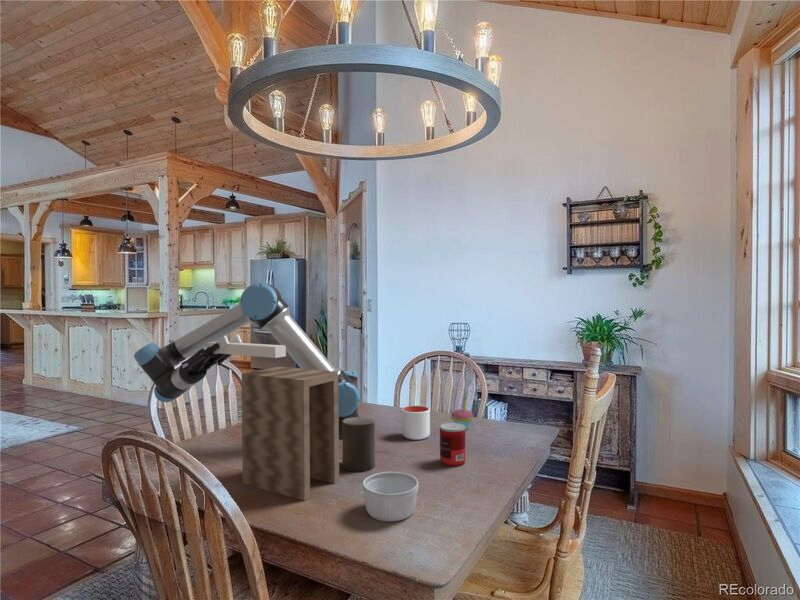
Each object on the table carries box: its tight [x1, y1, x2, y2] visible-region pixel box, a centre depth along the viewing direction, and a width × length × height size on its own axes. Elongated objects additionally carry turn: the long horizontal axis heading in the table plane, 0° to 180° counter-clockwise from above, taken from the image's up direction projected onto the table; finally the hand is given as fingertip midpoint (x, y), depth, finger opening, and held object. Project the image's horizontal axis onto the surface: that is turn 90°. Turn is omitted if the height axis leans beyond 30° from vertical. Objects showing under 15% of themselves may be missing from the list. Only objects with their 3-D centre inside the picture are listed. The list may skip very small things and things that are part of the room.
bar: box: [206, 341, 287, 359], centre depth 135 cm, size 28×4×3 cm, turn 60°
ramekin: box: [362, 471, 419, 523], centre depth 110 cm, size 13×13×7 cm
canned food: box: [439, 422, 466, 467], centre depth 142 cm, size 8×8×11 cm
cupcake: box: [450, 397, 475, 431], centre depth 178 cm, size 9×8×12 cm
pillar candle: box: [342, 415, 376, 473], centre depth 139 cm, size 10×10×15 cm
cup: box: [401, 405, 431, 441], centre depth 168 cm, size 10×10×10 cm
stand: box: [241, 366, 340, 501], centre depth 127 cm, size 22×14×30 cm, turn 60°
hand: (233, 339), depth 138 cm, fingers closed on bar, 4 cm apart
